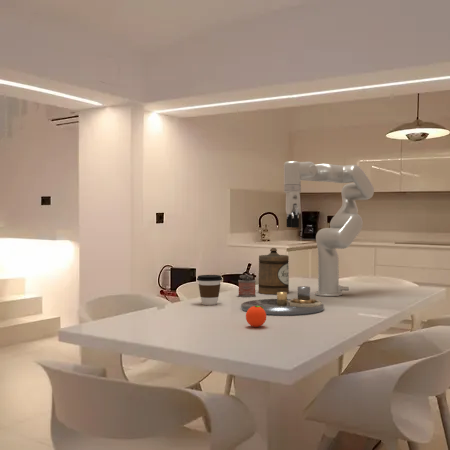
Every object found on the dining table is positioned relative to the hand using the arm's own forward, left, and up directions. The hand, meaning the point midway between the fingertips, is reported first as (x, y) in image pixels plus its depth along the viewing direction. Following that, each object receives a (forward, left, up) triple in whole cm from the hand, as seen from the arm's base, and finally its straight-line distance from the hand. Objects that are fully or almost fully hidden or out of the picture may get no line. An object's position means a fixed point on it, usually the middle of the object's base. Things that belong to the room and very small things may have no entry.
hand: (292, 227), depth 244 cm
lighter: (+19, -12, -32) cm, 40 cm away
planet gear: (+1, +24, -31) cm, 39 cm away
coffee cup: (+38, +8, -32) cm, 51 cm away
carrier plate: (+10, +24, -32) cm, 41 cm away
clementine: (+26, +59, -32) cm, 72 cm away
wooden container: (+4, -24, -33) cm, 41 cm away
